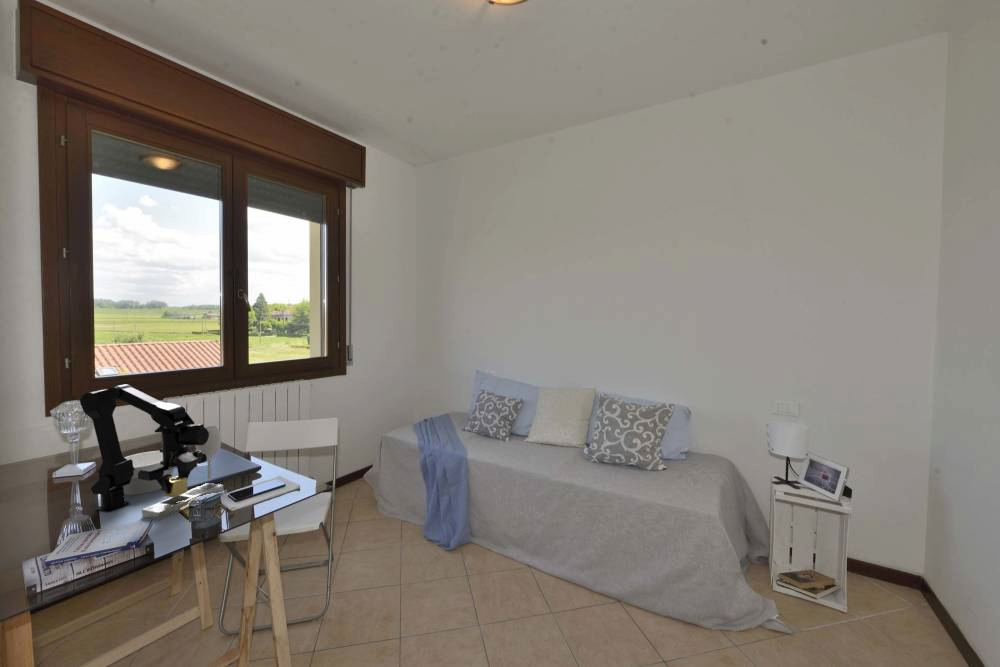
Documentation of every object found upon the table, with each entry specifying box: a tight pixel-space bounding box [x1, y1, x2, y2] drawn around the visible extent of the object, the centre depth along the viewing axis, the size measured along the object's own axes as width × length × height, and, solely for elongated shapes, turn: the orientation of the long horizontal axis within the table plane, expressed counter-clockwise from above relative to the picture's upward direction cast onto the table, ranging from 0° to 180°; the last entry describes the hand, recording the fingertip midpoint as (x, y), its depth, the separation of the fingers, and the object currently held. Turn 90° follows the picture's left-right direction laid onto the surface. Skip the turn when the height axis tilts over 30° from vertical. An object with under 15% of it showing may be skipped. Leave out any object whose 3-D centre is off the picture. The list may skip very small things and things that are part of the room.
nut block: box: [163, 475, 188, 498], centre depth 143 cm, size 4×4×5 cm
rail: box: [141, 483, 224, 521], centre depth 146 cm, size 8×22×3 cm, turn 162°
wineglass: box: [194, 425, 222, 479], centre depth 163 cm, size 9×9×21 cm
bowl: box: [123, 450, 175, 496], centre depth 160 cm, size 19×19×11 cm
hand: (175, 490), depth 143 cm, fingers closed on nut block, 4 cm apart
